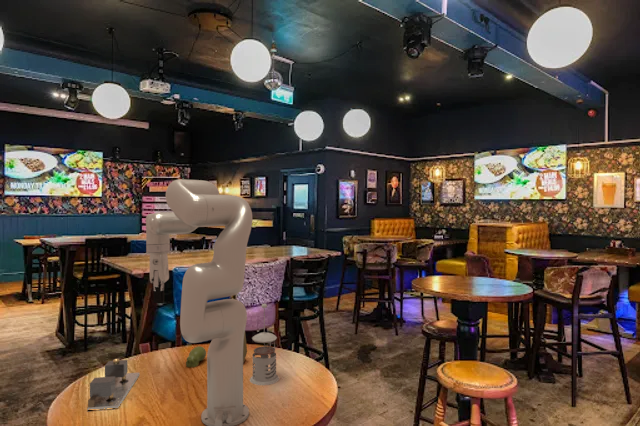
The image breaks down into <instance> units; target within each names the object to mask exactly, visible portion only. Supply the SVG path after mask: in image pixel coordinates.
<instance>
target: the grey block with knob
mask: <svg viewBox="0 0 640 426" xmlns="http://www.w3.org/2000/svg"><path fill="white" fill-rule="evenodd" d="M128 369H129V367H128V359H121V360H120V358H114V359H113V360H109V361H107V362H106V364H105V365H104V377H113V376H115V378H116V377H122V382H124V381H126V374H127V373H129V372H128V371H129V370H128Z"/></svg>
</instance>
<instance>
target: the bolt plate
mask: <svg viewBox="0 0 640 426" xmlns="http://www.w3.org/2000/svg"><path fill="white" fill-rule="evenodd" d="M139 377H140V372H127V374H126V381H124V382H122V377H116V378H115V376H113V377H105V376H102V377H94V378H93V379H92V381H90V382H89V399H87V408H86V409H87V410H89V409H104V408H105V409H107V408H118V407H119V406H120V407H121V405H122V404H123V402H124V400H125V399H126V398H127V395H128V394H129V392H130V391H131V389H132V388H133V386H134V384H136V382H137V380H138V378H139ZM122 401H123V402H122ZM121 403H122V404H121ZM120 404H121V405H120ZM120 407H119V408H120ZM119 408H118V409H119ZM87 410H86V411H87Z"/></svg>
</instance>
